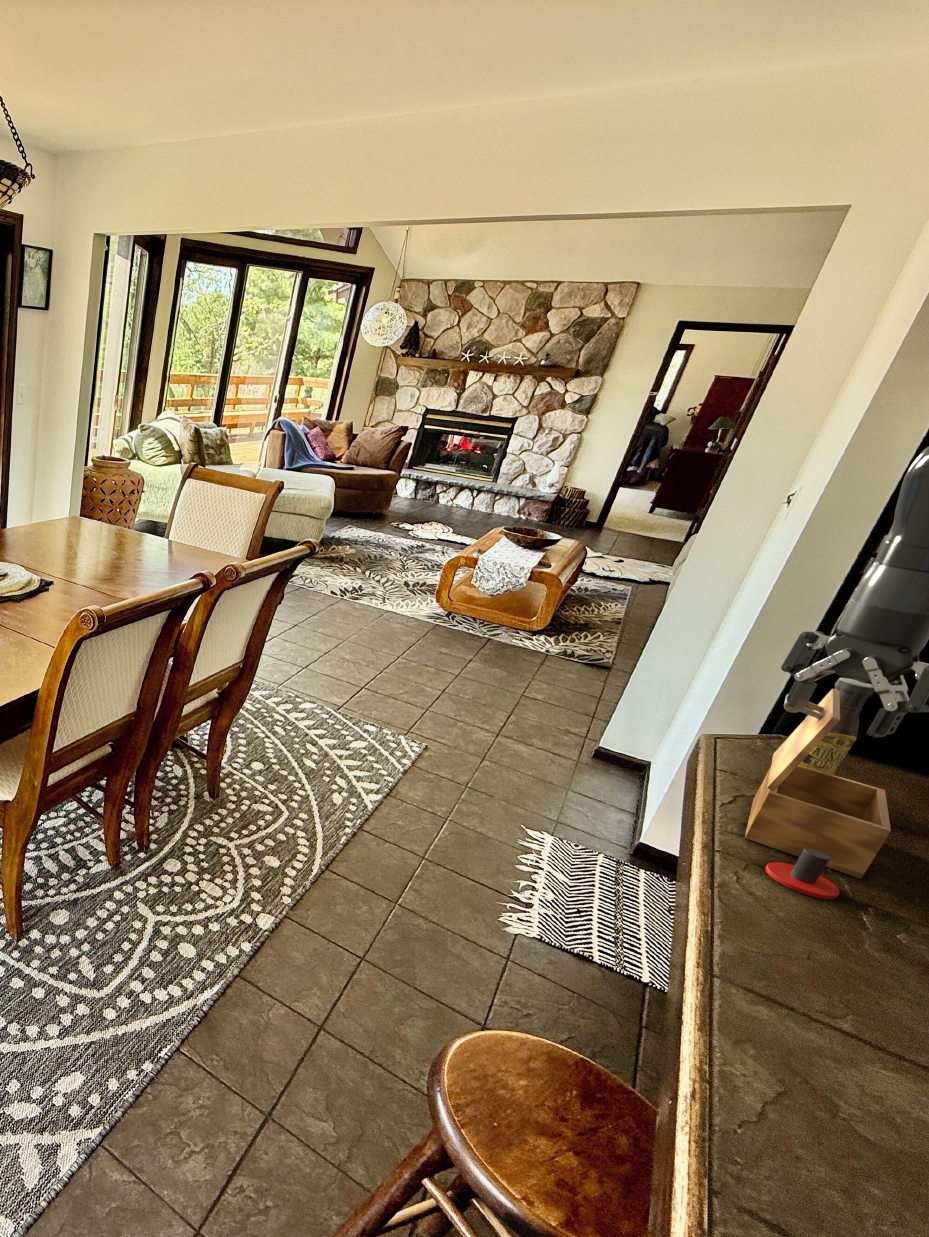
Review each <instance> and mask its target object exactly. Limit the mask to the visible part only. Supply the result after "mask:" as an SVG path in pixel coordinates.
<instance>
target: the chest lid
mask: <svg viewBox="0 0 929 1237" xmlns="http://www.w3.org/2000/svg"><path fill="white" fill-rule="evenodd" d="M788 694H789V693H787V694H786V695H785V698H784V704H783V708H784V709H785V711H787V712H789V713H799V712H800V713H803V714H806V716H807V715H808V716H807V717H806V716H805V718H806V719H805V718H804V720H802V722H801V723H800V724H798V726H797V727H796V728H795V729H794V730H793V732H792V733H791V734H789V736H788V737H787V738H786V739H785V740H784V742H783V743H782V744H781V745H780V746H779V747H778V748H777V749H776V750H775V751H774V752H773V754H772V760H771V765H770V767H771V770H770V775H769V780H768V785H767V788H768V789H770V790H773V791H774V790H775V789H776V788H777V787H778V786H779V785H780V784H781V783H782V782H783V781H784V780H785V779H786V778H787V777H788V775H789V774H790V773H791V772H792V771H793V770H794V769H795V768H796V767H797V766H798V765H799V764H800V763H801V762H802V760H803V759H804V758H805V757H806V756H807V755H808V754H809V753H810V752H811V751H812V750H813V749H814V748H815V747H816V746H817V744H818V743H819V742H820V741H821V740H822V739H823V738H824V737H825V736H826V735H827V734H828V733H829V732H830V731H831V729H832V728H833V727H834V726H835V725H836V724H837V723H838V722H839V721H840V695H839V691H838V690H835V688H831V690H830V691H829V692H828V693H826V695H825V696H824V697H823V698H822V699H821V701H820V702H818V704H816V703H815V702H814V703H813V702H811V701H808V703H807V705H806V707H805V708H803V709H794V708H791V707H789V706H788V703H789V702H787V696H788Z"/></svg>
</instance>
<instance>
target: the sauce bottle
mask: <svg viewBox="0 0 929 1237" xmlns="http://www.w3.org/2000/svg"><path fill="white" fill-rule="evenodd" d="M834 689H835V690H838V691H839V695H840V721H839V722H838V723H837V724H836V725H835V726H834V727H833V728H832V729H831V731H830V732H829V733H828V734H827V735H826V736H825V737H824V738H823V739H822V740H821V741H820V742H819V743H818V744H817V746H816V747H815V748H814V749H813V750H812V751H811V752H810V753H809V754H808V755H807V756H806V757H805V758H804V759H803V760H802V762H801V763H800V764H799V765H800V766H804V767H807V768H811V769H814V770H818V771H821V772H825V773H828V774H831V775H836V772H837V771H838V769H839V767H840V765H841V764H842V763H843V761H844V759H845V758H846V757H847V755H848V753H849V751H850V750H851V749H852V746H854V743H855V742H856V740H857V739H858V732H859V727H860V726H859V725H860V715H861V714H860V713H861V711H862V710H863V706H864V705H865V703H866V702H867V700H868V698H869V697H871V696H872V695H873V694H874V693H875V690H874V688H873V685H872V683H869V684H866V683H862V682H859V681H857V680H855V679H854V678H850V677H839V678H838V679H837V681H835V684H834ZM807 716H808V715H807V714H806V716H805V718H804V720H805V719H806V717H807Z"/></svg>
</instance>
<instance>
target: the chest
mask: <svg viewBox="0 0 929 1237" xmlns="http://www.w3.org/2000/svg"><path fill="white" fill-rule="evenodd" d="M770 770H771V766H770V767H769V768H768V771H767V772H766V775H765V777H764V778H763V781H762V782H761V785H760V786H759V788H758V790H757V791H756V794H755V796H754V797H753V800H752V803H751V808H750V813H749V817H748V821H747V824H746V825H747V826H746V830H745V834H744V838H745V839H746V840H749V841H752V842H755V843H759V844H762V845H764V846H767V847H770V848H773V849H775V850H778V851H780V852H783V853H787V854H790V855H792V856H795V857H798V858H799V857H800V855H801V854H802V852H803V850H804V849H805V848H812V849H816V850H819V851H821V852H823V853H825V854H827V855H828V856H829V857H830V860H829V862H828V863H827V865H826V867H825V868H829V869H831V870H834V871H837V872H839V873H843V874H846V875H848V876H851V877H855V878H857V879H861V880H862V879H863V877H864V875H865V874H866V872H867V870H868V869H869V867H870V865H871V864H872V863H873V861H874V859H875V858H876V856H877V854H878V853H879V851H880V849H881V848H882V847H883V845H884V844H885V842H886V841H887V838H888V837H889V835H890V833H891V832H892V828H891V822H890V816H889V815H890V814H889V809H888V808H889V807H888V801H887V795H886V790H885V789H884V788H880V787H876V786H873V785H869V784H865V783H862V782H859V781H855V780H851V779H850V778H849V779H848V778H845V777H843V776H842V777H841V776H838V775H836V774H834V775H831V774H828V773H825V772H821V771H818V770H814V769H811V768H807V767H804V766H800V765H798V766H797V767H796V768H795V769H794V770H793V771H792V772H791V773H790V774H789V775H788V777H787V778H786V779H785V780H784V781H783V782H782V783H781V784H780V785H779V786H778V787H777V788H776V789H775V790H774V791H773V790H770V789H768V788H767V785H768V780H769V775H770Z"/></svg>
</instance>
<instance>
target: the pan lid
mask: <svg viewBox="0 0 929 1237" xmlns="http://www.w3.org/2000/svg"><path fill="white" fill-rule="evenodd" d="M829 860H830V857H829V856H828V855H827V854H825V853H823V852H821V851H819V850H816V849H812V848H805V849H804V850H803V852H802V854H801V855H800V857H798V858H797V860H796V862H795V863H794V864H790V863H787V862H781V861H780V862H779V861H773V862H768V863H767V865H766V866H765V873H767V874H768V876H769V877H770V878H772V879H773V880H774V881H776V882H777V883H779V884H781V885H782V886H785V887H786V888H788V889H790V890H792V891H796V892H798V893H799V894H800V893H801V894H803V895H806V896H809V897H812V898H817V899H823V900H834V899H837V898H838V896H839V895H840V893H841V892H840V889H839V887H838V886H836V884H835V883H833V882H832V881H830V880H828V879H827V878H826V877H824V876H823V875H822V873H823V872H824V870H825V868H827V867H826V865H827V863H828V862H829Z"/></svg>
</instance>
